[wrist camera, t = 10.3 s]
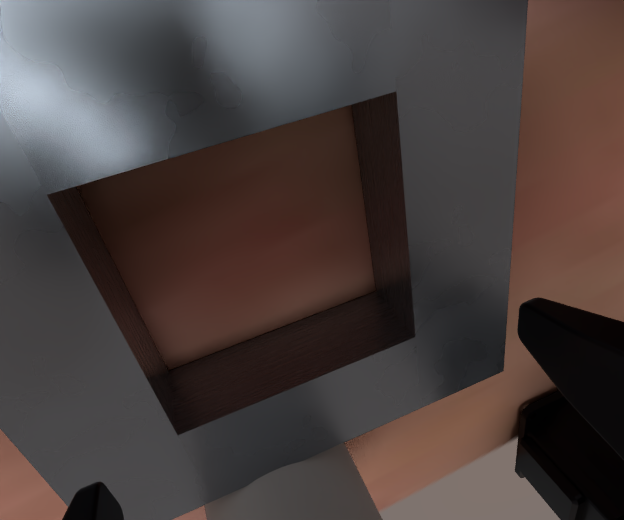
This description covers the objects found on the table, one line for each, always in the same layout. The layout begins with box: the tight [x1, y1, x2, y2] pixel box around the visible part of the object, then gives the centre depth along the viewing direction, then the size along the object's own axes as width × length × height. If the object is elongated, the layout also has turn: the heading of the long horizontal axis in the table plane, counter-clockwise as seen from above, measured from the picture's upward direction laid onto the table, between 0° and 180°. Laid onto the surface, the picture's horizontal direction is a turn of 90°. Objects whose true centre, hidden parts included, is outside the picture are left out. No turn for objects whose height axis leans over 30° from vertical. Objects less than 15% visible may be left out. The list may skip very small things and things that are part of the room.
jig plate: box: [0, 0, 528, 520], centre depth 15 cm, size 16×16×3 cm
